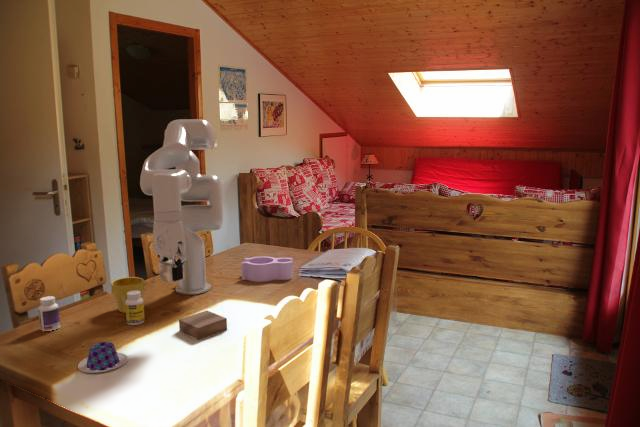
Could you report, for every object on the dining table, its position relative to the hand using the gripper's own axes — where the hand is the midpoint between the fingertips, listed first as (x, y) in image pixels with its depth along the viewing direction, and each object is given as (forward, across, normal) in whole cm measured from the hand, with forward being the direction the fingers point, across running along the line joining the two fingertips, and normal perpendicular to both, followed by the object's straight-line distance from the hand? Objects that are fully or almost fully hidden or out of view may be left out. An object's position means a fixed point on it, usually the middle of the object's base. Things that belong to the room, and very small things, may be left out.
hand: (172, 277), depth 153 cm
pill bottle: (+18, -33, -22) cm, 43 cm away
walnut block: (+18, +4, +7) cm, 19 cm away
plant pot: (+18, -30, +2) cm, 34 cm away
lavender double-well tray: (+18, -20, +56) cm, 63 cm away
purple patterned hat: (+18, +2, -23) cm, 29 cm away
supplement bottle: (+18, -17, -3) cm, 25 cm away
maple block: (+1, 0, 0) cm, 1 cm away
